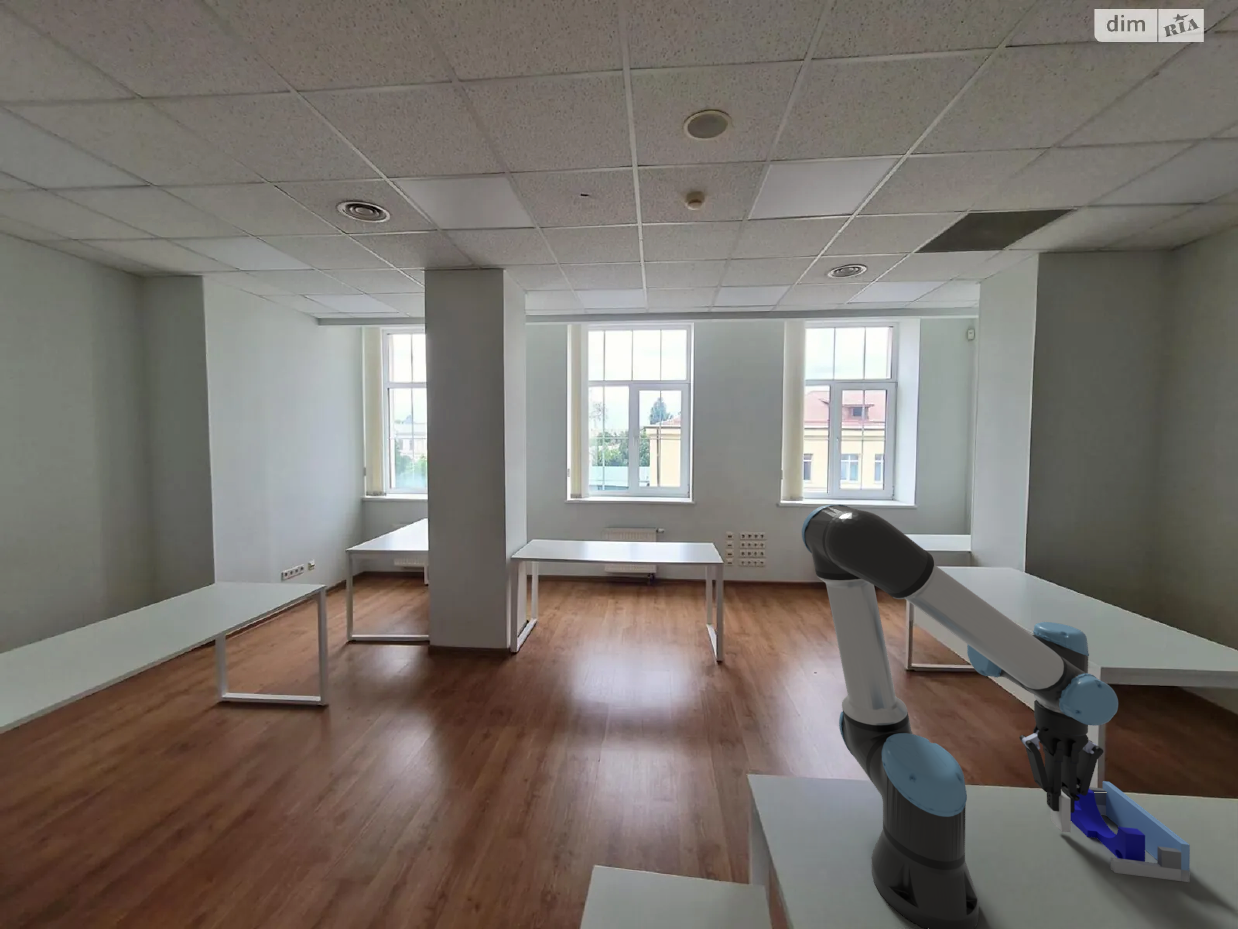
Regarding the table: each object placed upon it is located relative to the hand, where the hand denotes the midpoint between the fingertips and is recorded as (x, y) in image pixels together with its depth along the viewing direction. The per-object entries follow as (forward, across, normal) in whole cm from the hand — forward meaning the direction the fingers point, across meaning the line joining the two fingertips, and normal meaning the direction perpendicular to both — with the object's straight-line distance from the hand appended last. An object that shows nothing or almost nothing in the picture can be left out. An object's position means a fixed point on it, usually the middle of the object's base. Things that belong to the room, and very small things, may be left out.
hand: (1060, 826), depth 89 cm
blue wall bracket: (+2, +8, 0) cm, 9 cm away
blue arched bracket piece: (+2, +7, 0) cm, 7 cm away
